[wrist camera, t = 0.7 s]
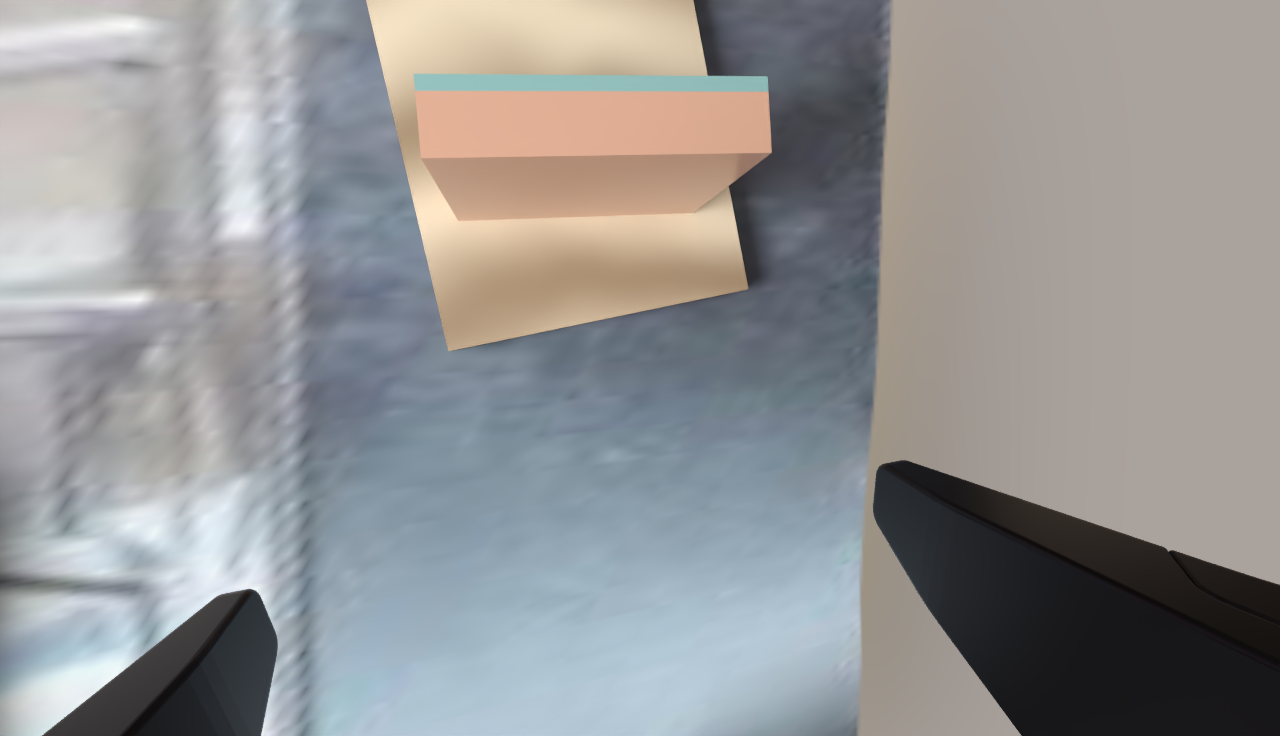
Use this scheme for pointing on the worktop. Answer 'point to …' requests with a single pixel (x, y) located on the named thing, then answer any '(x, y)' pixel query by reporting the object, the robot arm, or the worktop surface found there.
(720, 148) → the terracotta tile
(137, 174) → the worktop surface
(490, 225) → the beech board
